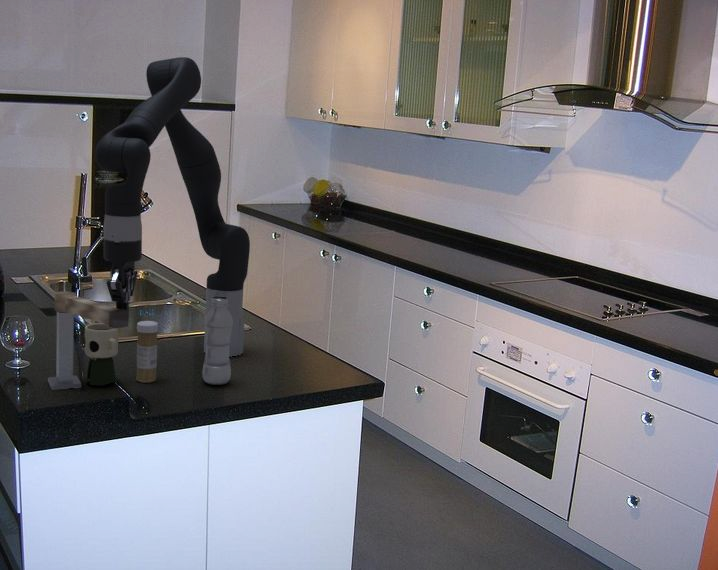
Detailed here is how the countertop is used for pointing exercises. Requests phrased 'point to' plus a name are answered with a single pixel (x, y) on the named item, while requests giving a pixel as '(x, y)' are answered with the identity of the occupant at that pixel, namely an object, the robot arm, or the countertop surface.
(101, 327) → the character mug
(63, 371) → the post
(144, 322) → the sprinkles bottle
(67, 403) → the countertop surface
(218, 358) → the plastic bottle
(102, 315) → the swing arm
